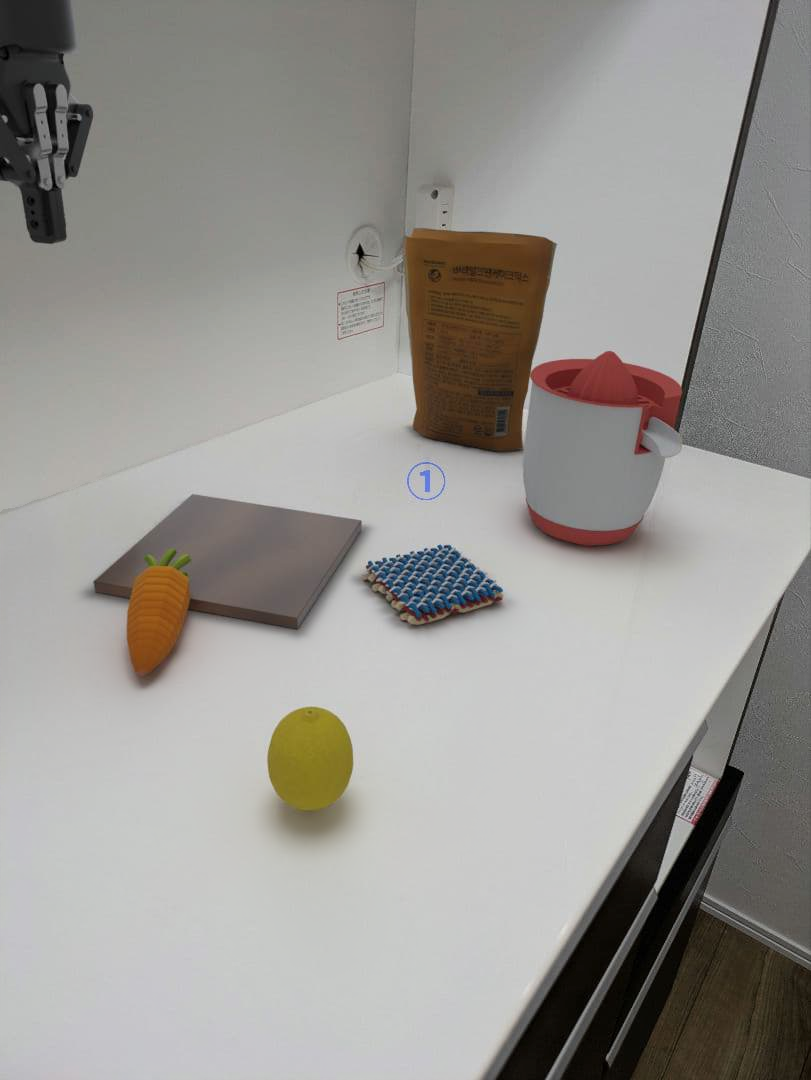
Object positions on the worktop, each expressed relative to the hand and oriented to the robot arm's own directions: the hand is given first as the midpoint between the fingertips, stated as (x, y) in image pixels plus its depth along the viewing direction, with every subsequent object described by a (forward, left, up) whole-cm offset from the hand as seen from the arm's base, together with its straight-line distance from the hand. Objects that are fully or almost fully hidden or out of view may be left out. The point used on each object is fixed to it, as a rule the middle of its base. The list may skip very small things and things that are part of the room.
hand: (48, 241), depth 63 cm
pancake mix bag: (+26, +49, -31) cm, 64 cm away
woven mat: (+30, +9, -31) cm, 44 cm away
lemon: (+28, -20, -31) cm, 46 cm away
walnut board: (+10, +9, -31) cm, 34 cm away
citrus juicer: (+44, +28, -31) cm, 61 cm away
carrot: (+11, -13, -30) cm, 34 cm away
